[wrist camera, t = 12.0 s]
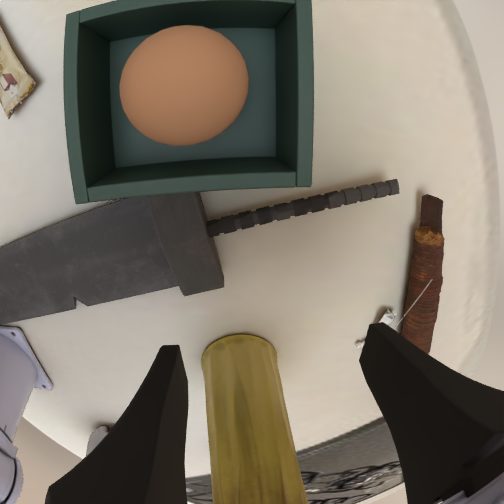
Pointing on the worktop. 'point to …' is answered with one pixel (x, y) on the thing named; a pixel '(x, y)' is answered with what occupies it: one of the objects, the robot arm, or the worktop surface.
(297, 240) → the worktop surface
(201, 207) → the flat dark sword
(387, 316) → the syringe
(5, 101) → the snack bar
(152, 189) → the tote
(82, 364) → the worktop surface
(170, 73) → the egg
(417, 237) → the hand tool
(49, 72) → the worktop surface
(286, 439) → the vase
